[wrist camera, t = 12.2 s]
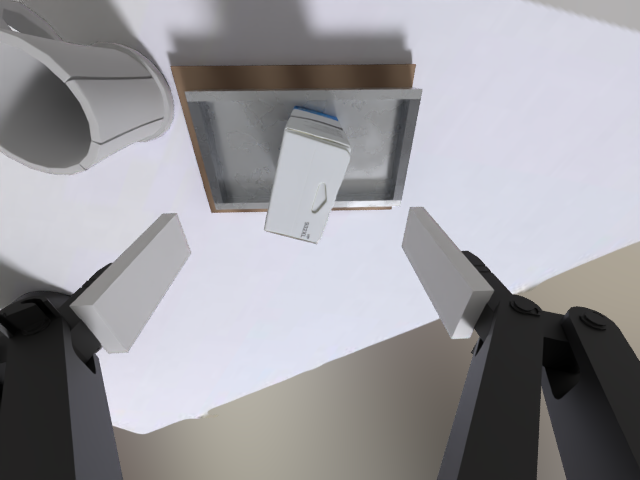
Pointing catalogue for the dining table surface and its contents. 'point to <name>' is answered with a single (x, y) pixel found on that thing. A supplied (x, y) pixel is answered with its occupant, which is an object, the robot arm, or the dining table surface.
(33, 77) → the cup
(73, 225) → the dining table surface
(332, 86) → the panel
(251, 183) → the metal serving tray
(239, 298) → the dining table surface
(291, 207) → the ink box
